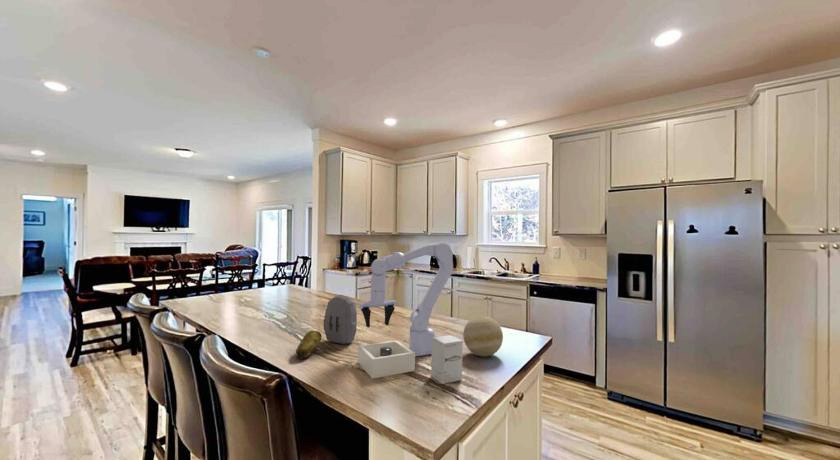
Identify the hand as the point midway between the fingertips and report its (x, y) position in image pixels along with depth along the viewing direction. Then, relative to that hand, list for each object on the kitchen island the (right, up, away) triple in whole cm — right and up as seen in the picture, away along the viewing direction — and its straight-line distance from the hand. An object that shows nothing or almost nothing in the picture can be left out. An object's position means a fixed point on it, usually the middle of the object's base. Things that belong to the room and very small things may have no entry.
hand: (377, 325), depth 130 cm
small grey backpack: (-17, -11, +11) cm, 23 cm away
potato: (-26, -10, -3) cm, 28 cm away
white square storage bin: (+5, -10, -14) cm, 18 cm away
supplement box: (+25, -11, -22) cm, 35 cm away
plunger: (+5, -9, -13) cm, 17 cm away
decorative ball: (+40, -12, 0) cm, 42 cm away
